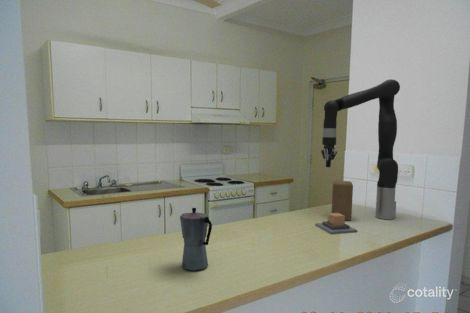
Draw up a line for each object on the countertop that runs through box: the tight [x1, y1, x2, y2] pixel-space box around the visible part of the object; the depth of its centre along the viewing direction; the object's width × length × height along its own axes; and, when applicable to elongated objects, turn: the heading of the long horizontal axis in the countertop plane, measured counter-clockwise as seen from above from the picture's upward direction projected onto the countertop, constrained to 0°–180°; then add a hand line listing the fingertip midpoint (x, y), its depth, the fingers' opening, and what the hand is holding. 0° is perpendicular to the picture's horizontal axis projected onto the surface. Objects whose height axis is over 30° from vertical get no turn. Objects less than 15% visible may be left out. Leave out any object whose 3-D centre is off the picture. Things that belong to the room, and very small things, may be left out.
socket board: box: [314, 220, 358, 235], centre depth 152 cm, size 14×14×2 cm
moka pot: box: [179, 207, 213, 271], centre depth 106 cm, size 10×15×20 cm, turn 51°
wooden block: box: [331, 180, 354, 222], centre depth 170 cm, size 10×10×20 cm
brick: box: [327, 212, 346, 226], centre depth 151 cm, size 6×6×6 cm
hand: (328, 167), depth 178 cm, fingers closed
